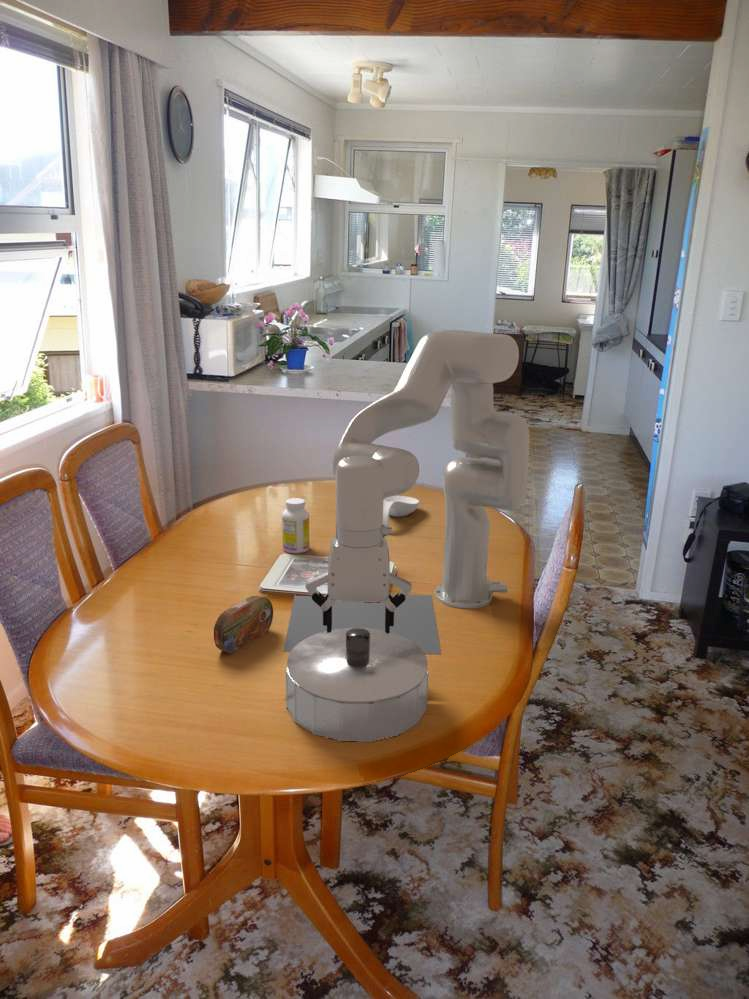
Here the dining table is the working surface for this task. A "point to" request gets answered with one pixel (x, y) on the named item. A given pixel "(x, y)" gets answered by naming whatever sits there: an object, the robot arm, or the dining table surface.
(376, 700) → the lidded metal pot
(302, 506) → the supplement bottle
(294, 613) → the rubber mat
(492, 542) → the dining table surface
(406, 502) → the spoon rest
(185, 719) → the dining table surface
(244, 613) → the tin
